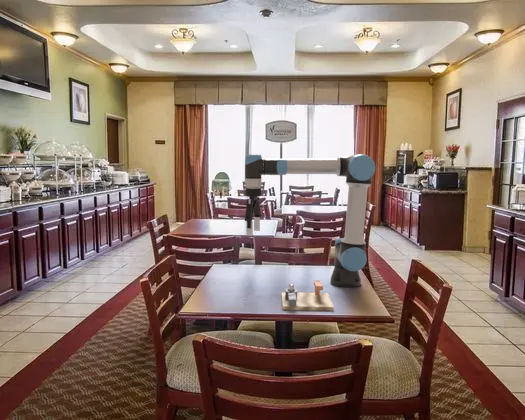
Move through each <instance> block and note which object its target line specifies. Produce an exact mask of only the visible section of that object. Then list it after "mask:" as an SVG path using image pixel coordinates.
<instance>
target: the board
mask: <svg viewBox="0 0 525 420" xmlns="http://www.w3.org/2000/svg"><path fill="white" fill-rule="evenodd" d="M281 304H282V305H281V306H282V310H286V311H287V310H288V311H335V306H334V304H333V302H332V300H331V297H330V295H329V293H328V292H320V295H315V292H301V291H300V292H298V291H297V298H296V306H289V302H288V298H286V297H285V292H284V291H282V292H281Z"/></svg>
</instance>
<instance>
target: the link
mask: <svg viewBox="0 0 525 420" xmlns="http://www.w3.org/2000/svg"><path fill="white" fill-rule="evenodd" d="M284 291H285V297H286V298H288V302H289V306H296V298H297V292H298V289H297V288H294V291H289V287H288V288H287V287H286V288H285V289H284Z"/></svg>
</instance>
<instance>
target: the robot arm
mask: <svg viewBox="0 0 525 420" xmlns="http://www.w3.org/2000/svg"><path fill="white" fill-rule="evenodd" d="M244 161H245V162H244V168H245V169H244V174H245V175H244V178H245V179H244V183H245V184H244V185H245V189H244V195H245V197H248V198H247V199H246V206H245V207H246V209H245V217H244V222H246V226H245V228H246V236H250V237H251V236H253V235H254V234H253V232H260V231H261V222H260V221H261V218H262V211H261V205H260V197H261V196H262V183H263V182H262V176H266V175H267V176H268V175H269V176H285V175H335V176H337V177H345V178H346V179H345V184H346V185H347V186H348V190H347V191H348V192H347V205H346V215H345V227H344V229H345V230H344V237H342V238H338V237H337V238H336V239H335V243H334V264H333V265H334V267H333V270H332V273H331V276H330V281H329V282H330V284H331V285H333V286H335V287H341V288H355V287H356V288H357V287H360V286H362V280H361V279H362V278H361V275H360V272H359V271H361V270H362V269H363V268H364V267H365V266H366V264H367V262H368V261H367V260H368V259H367V253H366V246H367V242H366V240H364V233H365V232H364V231H365V223H366V222H365V219H366V211H367V210H366V209H367V200H368V199H367V198H368V189H369V187H371V185H372V182H373V176H374V175H375V172H376V164H375V161H374V160H373V159H372V157H371V156H369V155H366V154H364V153H360V154H359V153H358V154H352V155H351V154H349V155H345V156H337V157H336V158H274V157H273V158H262V154H256V153H255V154H249V153H248V154H246V155H245V159H244Z"/></svg>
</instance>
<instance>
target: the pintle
mask: <svg viewBox="0 0 525 420" xmlns="http://www.w3.org/2000/svg"><path fill="white" fill-rule="evenodd" d="M288 288H289V291H294V289H295V287H294V284H292V283H290V284H288Z"/></svg>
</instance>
